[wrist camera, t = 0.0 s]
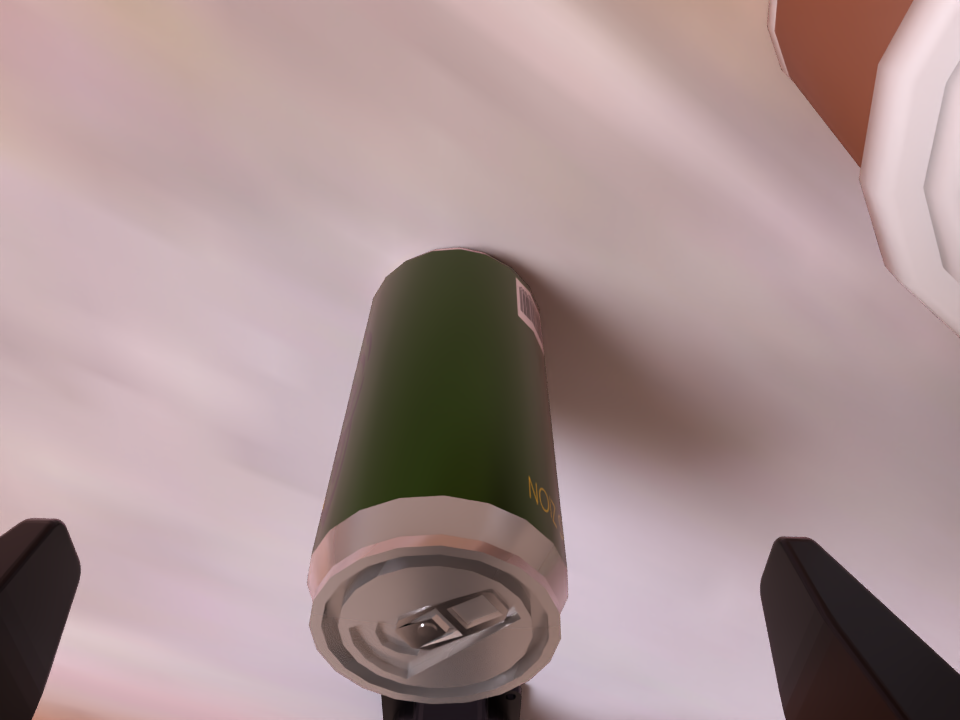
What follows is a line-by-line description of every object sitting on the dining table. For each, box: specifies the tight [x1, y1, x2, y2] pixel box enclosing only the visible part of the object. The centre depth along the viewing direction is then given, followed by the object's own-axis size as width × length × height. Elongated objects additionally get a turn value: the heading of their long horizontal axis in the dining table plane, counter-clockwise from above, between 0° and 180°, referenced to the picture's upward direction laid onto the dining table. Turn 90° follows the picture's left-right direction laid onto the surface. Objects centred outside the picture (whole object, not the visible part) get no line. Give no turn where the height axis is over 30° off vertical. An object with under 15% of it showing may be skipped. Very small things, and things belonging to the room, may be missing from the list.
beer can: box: [307, 247, 568, 704], centre depth 20 cm, size 5×5×12 cm
